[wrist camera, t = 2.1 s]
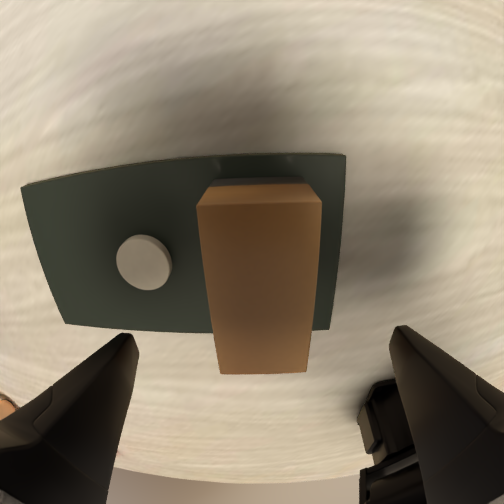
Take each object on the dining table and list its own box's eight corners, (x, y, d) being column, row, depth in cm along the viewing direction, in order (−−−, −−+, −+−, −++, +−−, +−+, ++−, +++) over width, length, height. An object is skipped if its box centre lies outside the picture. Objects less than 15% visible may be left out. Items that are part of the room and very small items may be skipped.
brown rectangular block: (303, 176, 12) (322, 201, 9) (297, 319, 16) (306, 372, 12) (213, 178, 13) (195, 205, 9) (226, 320, 16) (220, 374, 12)
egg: (-6, 391, 26) (-26, 426, 19) (4, 391, 25) (-18, 430, 18) (15, 412, 29) (-2, 447, 21) (28, 414, 28) (9, 453, 20)
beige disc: (167, 232, 14) (163, 237, 13) (176, 284, 15) (174, 290, 15) (115, 235, 14) (110, 240, 13) (127, 284, 15) (123, 290, 15)
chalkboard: (342, 153, 12) (346, 155, 12) (327, 323, 17) (329, 329, 16) (26, 184, 13) (20, 187, 12) (68, 318, 17) (64, 324, 17)
